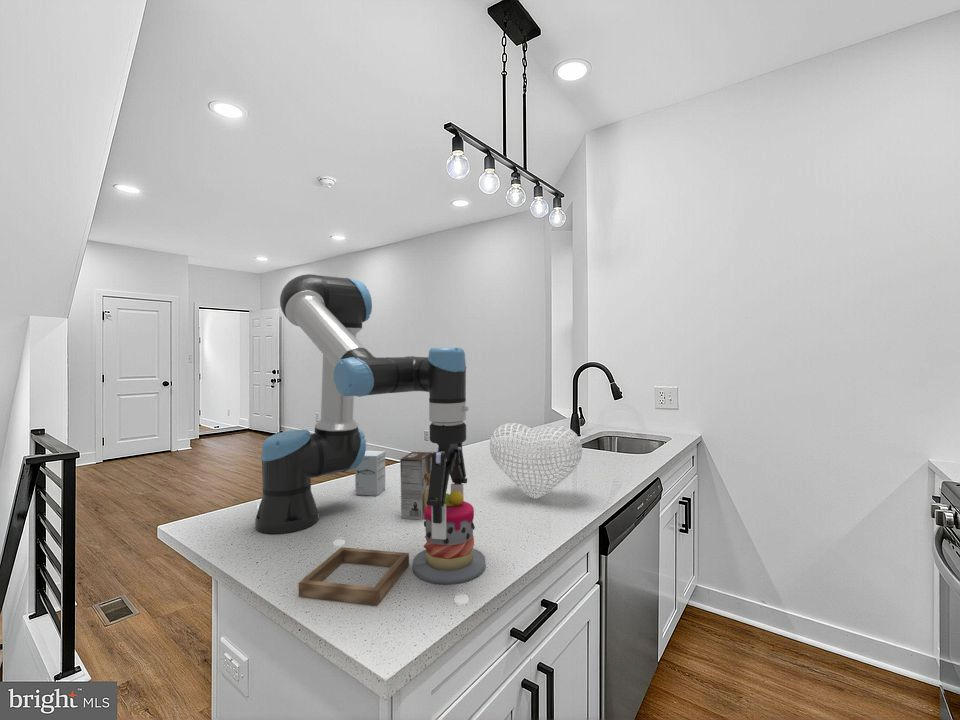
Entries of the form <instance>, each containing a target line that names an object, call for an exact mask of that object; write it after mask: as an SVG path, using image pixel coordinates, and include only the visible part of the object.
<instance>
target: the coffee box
mask: <svg viewBox="0 0 960 720" xmlns="http://www.w3.org/2000/svg"><path fill="white" fill-rule="evenodd" d="M433 452H434V451H433ZM433 452H430V451H412V452H411V451H410V452H409V453H407V454H406V455H404V456H403V457H402V458H400V460H399V461H400V465H399V466H400V507H401V508H400V509H401V511H400V514H401V515H400V517H401V519H410V520H422V521H423V520H425V519H424V510H425V508H426V506H427V500H428V493H429V485H430V477H431V469H432V454H433Z"/></svg>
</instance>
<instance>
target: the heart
mask: <svg viewBox="0 0 960 720" xmlns="http://www.w3.org/2000/svg"><path fill="white" fill-rule="evenodd" d="M546 433H547V434H546ZM512 434H513V435H512ZM564 438H566V439H564ZM531 439H532V440H531ZM560 439H561V441H560ZM580 439H581V438H580V437H579V436H578V434H577V433H576V432H575V431H574V430H572V429H571V428H570V427H567V426H563V425H551V426H547V427H542V428H537V429H536V428H532V427H530V426H527V425H525V424H523V423H517V422H508V423H504V424H502V425H500V426H498V427H497V428H495V430H494V431H493V433H492V435H491V436H490V439H489V440H490V441H489V451H490V452H489V453H490V454H491V457H492V459H493V461H494V462H495V464H496V466H498V468H499V469H500V470H501V471H502V472H503V473H504V474H505V475H506V476H507V477H508V478H509V479H510V480H511V481H512V482H513V483H514V484H515V485H516V486H517V487H518V488H519V489H520V490H521V491H522V492H523V493H524V494H525V495H526V496H527V497H530V498H531V499H540V498H542V497H544V496H545V495H547V494H549V493H550V492H551V491H553V489H554V488H555V487H557V486H558V485H559V484H560V483H562V482H563V481H564V480H566V479H567V478H568V477H569V476H570V475H571V474H572V473H573V472H574V471H575V469H577V468H578V465H579V463H580V461H581V459H582V456H583V445H582V442H581V440H580ZM547 441H548V443H547ZM539 442H540V443H539ZM542 442H544V443H542ZM569 443H570V444H569ZM557 444H558V445H557ZM565 444H566V446H565ZM547 447H548V448H547ZM552 447H553V448H552ZM526 449H527V450H526ZM530 449H531V451H530ZM557 449H558V450H557ZM506 450H507V451H506ZM534 450H535V452H534ZM538 450H539V451H538ZM511 452H512V453H511ZM558 452H559V453H558ZM520 453H521V454H520ZM515 454H516V455H515ZM524 454H526V456H525V455H524ZM501 455H502V456H501ZM529 455H530V456H529ZM533 455H535V458H534V457H533ZM557 455H558V456H557ZM538 456H539V458H538ZM543 456H544V457H543ZM543 461H544V462H545V463H543ZM548 461H549V463H548ZM506 462H507V463H506ZM520 465H521V466H520ZM524 466H526V467H524ZM530 466H532V467H530ZM536 466H537V467H536ZM560 467H561V468H560ZM513 469H514V470H513ZM524 470H527V472H524ZM530 471H533V472H530ZM542 472H543V473H542ZM547 472H549V473H547ZM526 475H528V476H526ZM531 475H532V476H533V477H531ZM537 476H538V477H537ZM544 481H546V482H544Z"/></svg>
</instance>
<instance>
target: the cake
mask: <svg viewBox="0 0 960 720" xmlns="http://www.w3.org/2000/svg"><path fill="white" fill-rule="evenodd" d="M463 496H464V494H463V495H462V494H461V492H459V491H453V492H451V491H450V493H447V492H446V497H445V503H444V504H446V539H433V538H432V509H431V506H430V505H427V506H426V508H425V510H424V519H423V520H424V522H423V526H424V527H425V535H424V538H425V540H426V542H425V544H424V545H423V548H424V550H426V563H427V565H428V566H430V567H432V568H434V569H438V570H445V571H449V570H458V569H462V568H464V567H467V566H468V565H470V564H471V563H472V561H473V548H474V547H475V536H474V530H475V529H476V527H475V524H474V516H475V508H474V507H473V505H472V504H471V503H470V502H467V501H465V500H464V501H463ZM435 499H437V498H435Z"/></svg>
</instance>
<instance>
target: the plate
mask: <svg viewBox="0 0 960 720" xmlns="http://www.w3.org/2000/svg"><path fill="white" fill-rule="evenodd" d="M485 569H486V557H485V555H484V554H483V552H481V550H478V549H477V548H474V547H473V561H472V563H471V564H470V565H468V566H467V567H464V568H462V569H458V570H449V571H445V570H438V569H434V568H432V567H430V566H428V565H427V563H426V549H423V550H422V551H420V552H418V553H417V554H415V556H414V557H413V559H412V572H413V574H414V575H415V577H417V578H418V579H420V580H422V581H424V582H427V583H431V584H435V585H436V584H437V585H456V584H462V583H465V582H469V581H472V580H474V579H476V578H478V577H480V574H481V573H482V572H483V573H484V571H485ZM483 573H482V574H483ZM482 574H481V575H482ZM477 576H478V577H477ZM471 579H472V580H471Z"/></svg>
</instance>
